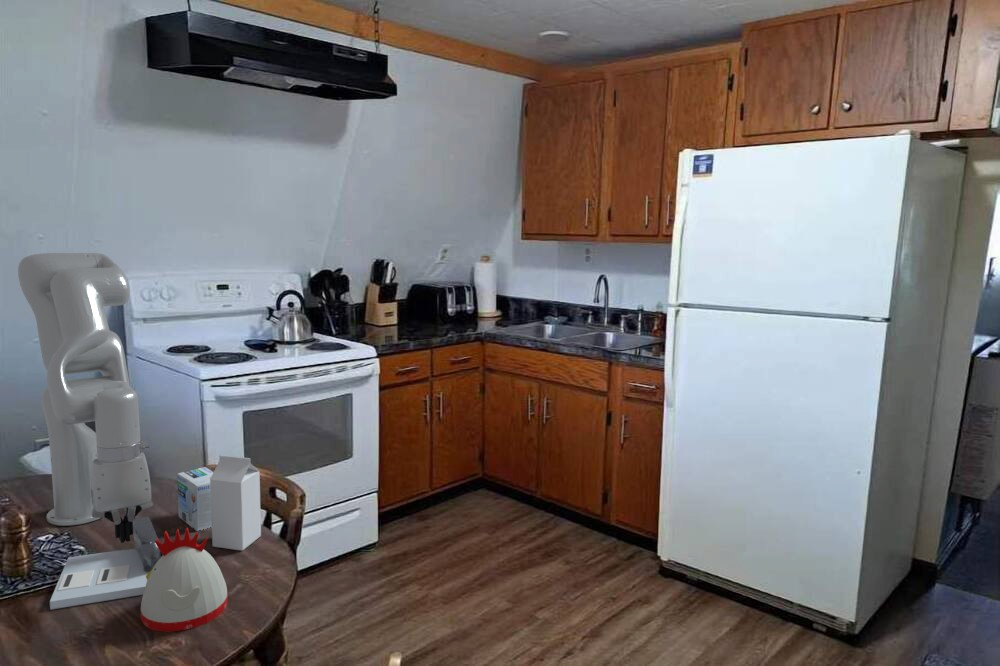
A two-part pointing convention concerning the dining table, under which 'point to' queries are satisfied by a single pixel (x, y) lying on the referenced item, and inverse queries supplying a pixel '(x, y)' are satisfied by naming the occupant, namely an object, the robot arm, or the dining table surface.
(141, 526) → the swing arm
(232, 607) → the dining table surface
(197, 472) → the light bulb box
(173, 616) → the kitchen timer
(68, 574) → the label board
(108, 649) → the dining table surface
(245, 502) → the milk carton
